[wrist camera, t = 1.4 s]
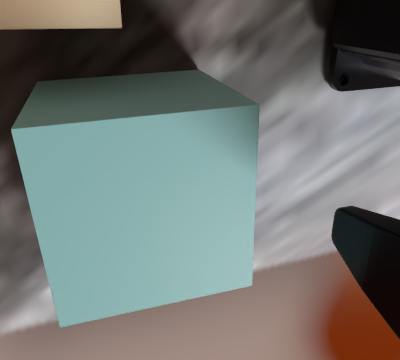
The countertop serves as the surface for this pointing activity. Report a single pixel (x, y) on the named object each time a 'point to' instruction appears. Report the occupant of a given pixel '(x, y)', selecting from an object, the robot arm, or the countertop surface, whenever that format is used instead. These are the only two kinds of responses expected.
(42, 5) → the maple block
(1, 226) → the countertop surface
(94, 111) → the teal cube
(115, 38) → the countertop surface
